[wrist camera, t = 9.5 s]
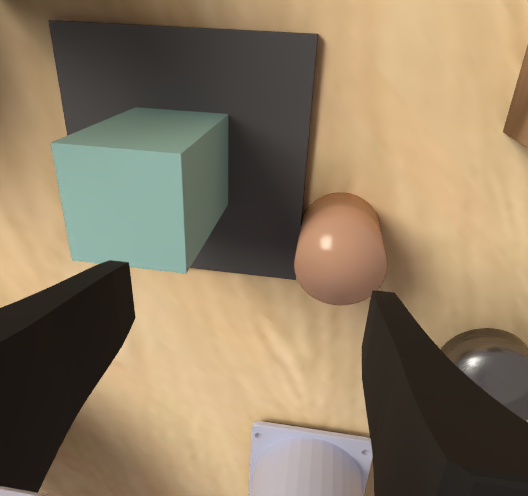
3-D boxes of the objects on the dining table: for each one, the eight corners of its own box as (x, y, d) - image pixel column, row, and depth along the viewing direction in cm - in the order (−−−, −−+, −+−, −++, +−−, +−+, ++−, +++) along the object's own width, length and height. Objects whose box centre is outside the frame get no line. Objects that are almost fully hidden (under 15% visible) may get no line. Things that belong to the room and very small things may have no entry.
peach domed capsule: (372, 266, 23) (378, 309, 20) (298, 258, 24) (290, 299, 20) (385, 196, 22) (394, 230, 18) (304, 188, 22) (297, 220, 18)
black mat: (296, 275, 24) (295, 279, 24) (91, 251, 26) (87, 256, 25) (317, 33, 19) (317, 34, 18) (54, 20, 20) (48, 20, 20)
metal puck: (514, 399, 26) (530, 434, 24) (427, 388, 27) (435, 421, 25) (541, 332, 24) (562, 364, 22) (445, 322, 24) (456, 352, 22)
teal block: (228, 204, 22) (186, 273, 16) (143, 196, 23) (72, 260, 17) (228, 113, 20) (180, 153, 14) (135, 107, 21) (50, 142, 15)
